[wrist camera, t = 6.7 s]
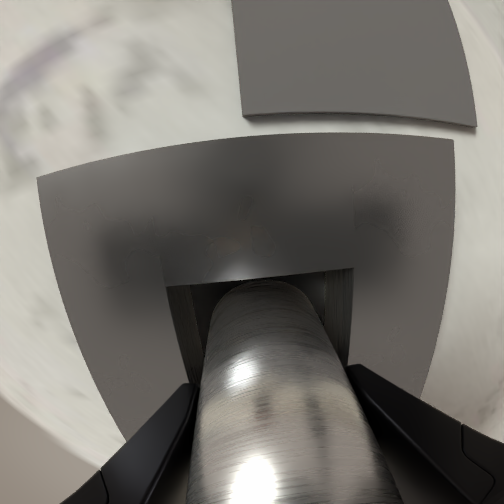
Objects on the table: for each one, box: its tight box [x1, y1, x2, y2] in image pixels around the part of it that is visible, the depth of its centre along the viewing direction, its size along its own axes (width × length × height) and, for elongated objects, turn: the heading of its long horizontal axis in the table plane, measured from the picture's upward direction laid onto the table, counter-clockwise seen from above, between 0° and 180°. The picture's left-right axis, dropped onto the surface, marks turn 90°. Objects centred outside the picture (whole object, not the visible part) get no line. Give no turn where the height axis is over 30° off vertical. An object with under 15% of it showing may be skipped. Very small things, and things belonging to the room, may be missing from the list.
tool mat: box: [231, 0, 477, 127], centre depth 8 cm, size 10×8×1 cm
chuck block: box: [37, 133, 455, 442], centre depth 10 cm, size 12×12×3 cm
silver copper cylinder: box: [185, 279, 404, 504], centre depth 5 cm, size 4×4×9 cm
